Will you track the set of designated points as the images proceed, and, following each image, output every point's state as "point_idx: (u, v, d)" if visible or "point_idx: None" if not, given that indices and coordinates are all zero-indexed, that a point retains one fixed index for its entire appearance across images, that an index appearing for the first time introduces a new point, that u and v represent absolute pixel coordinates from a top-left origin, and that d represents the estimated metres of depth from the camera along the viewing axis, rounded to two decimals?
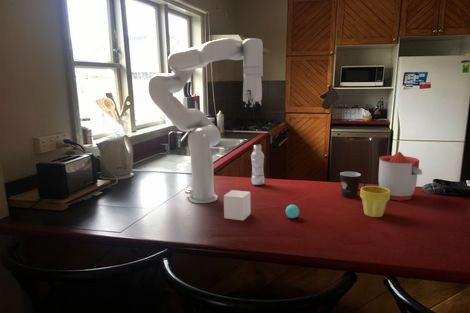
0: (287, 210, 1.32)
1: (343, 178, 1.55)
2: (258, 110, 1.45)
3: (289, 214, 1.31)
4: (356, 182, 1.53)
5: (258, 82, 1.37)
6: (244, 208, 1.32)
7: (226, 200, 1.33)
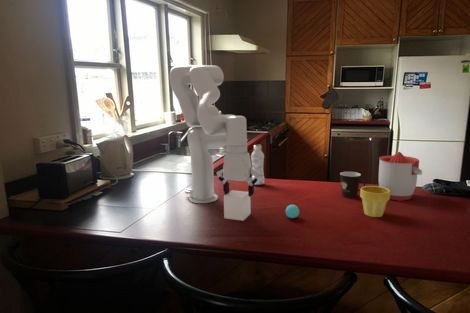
0: (287, 210, 1.32)
1: (343, 178, 1.55)
2: (228, 187, 1.36)
3: (289, 214, 1.31)
4: (356, 182, 1.53)
5: None
6: (244, 208, 1.32)
7: (226, 200, 1.33)
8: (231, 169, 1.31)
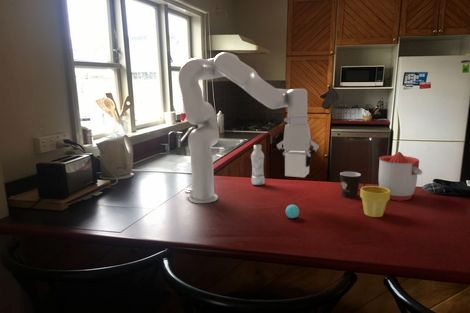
0: (287, 210, 1.32)
1: (343, 178, 1.55)
2: None
3: (289, 214, 1.31)
4: (356, 182, 1.53)
5: None
6: (305, 165, 1.38)
7: (287, 158, 1.39)
8: (292, 139, 1.38)
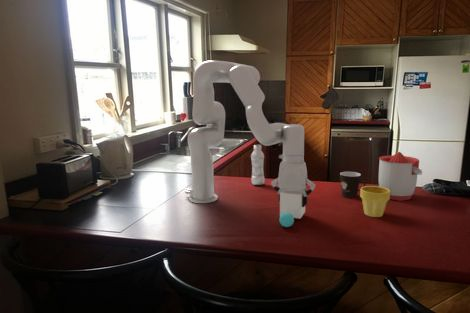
0: None
1: (343, 178, 1.55)
2: None
3: None
4: (356, 182, 1.53)
5: None
6: (301, 206, 1.30)
7: (282, 198, 1.30)
8: (287, 178, 1.29)
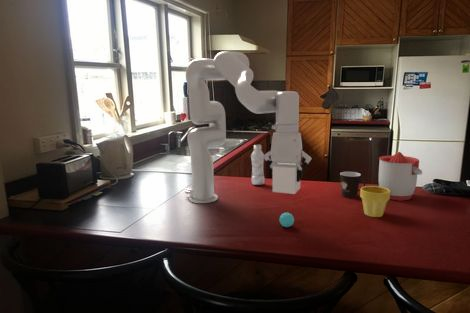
0: None
1: (343, 178, 1.55)
2: None
3: None
4: (356, 182, 1.53)
5: None
6: (296, 180, 1.19)
7: (275, 171, 1.20)
8: (280, 150, 1.19)
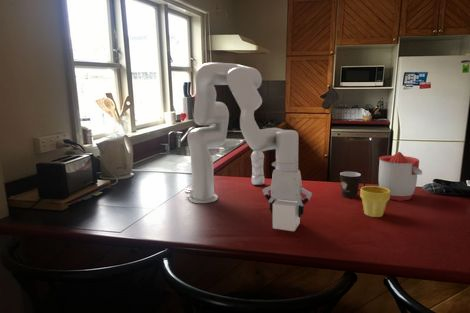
0: None
1: (343, 178, 1.55)
2: None
3: None
4: (356, 182, 1.53)
5: None
6: (295, 218, 1.22)
7: (275, 209, 1.22)
8: (280, 188, 1.21)
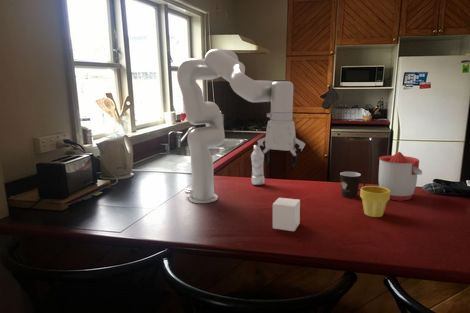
0: None
1: (343, 178, 1.55)
2: (268, 157, 1.31)
3: None
4: (356, 182, 1.53)
5: None
6: (295, 218, 1.22)
7: (275, 209, 1.22)
8: (274, 137, 1.25)
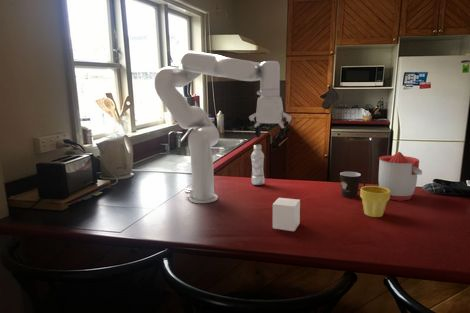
0: None
1: (343, 178, 1.55)
2: (259, 131, 1.45)
3: None
4: (356, 182, 1.53)
5: None
6: (295, 218, 1.22)
7: (275, 209, 1.22)
8: (264, 112, 1.39)
